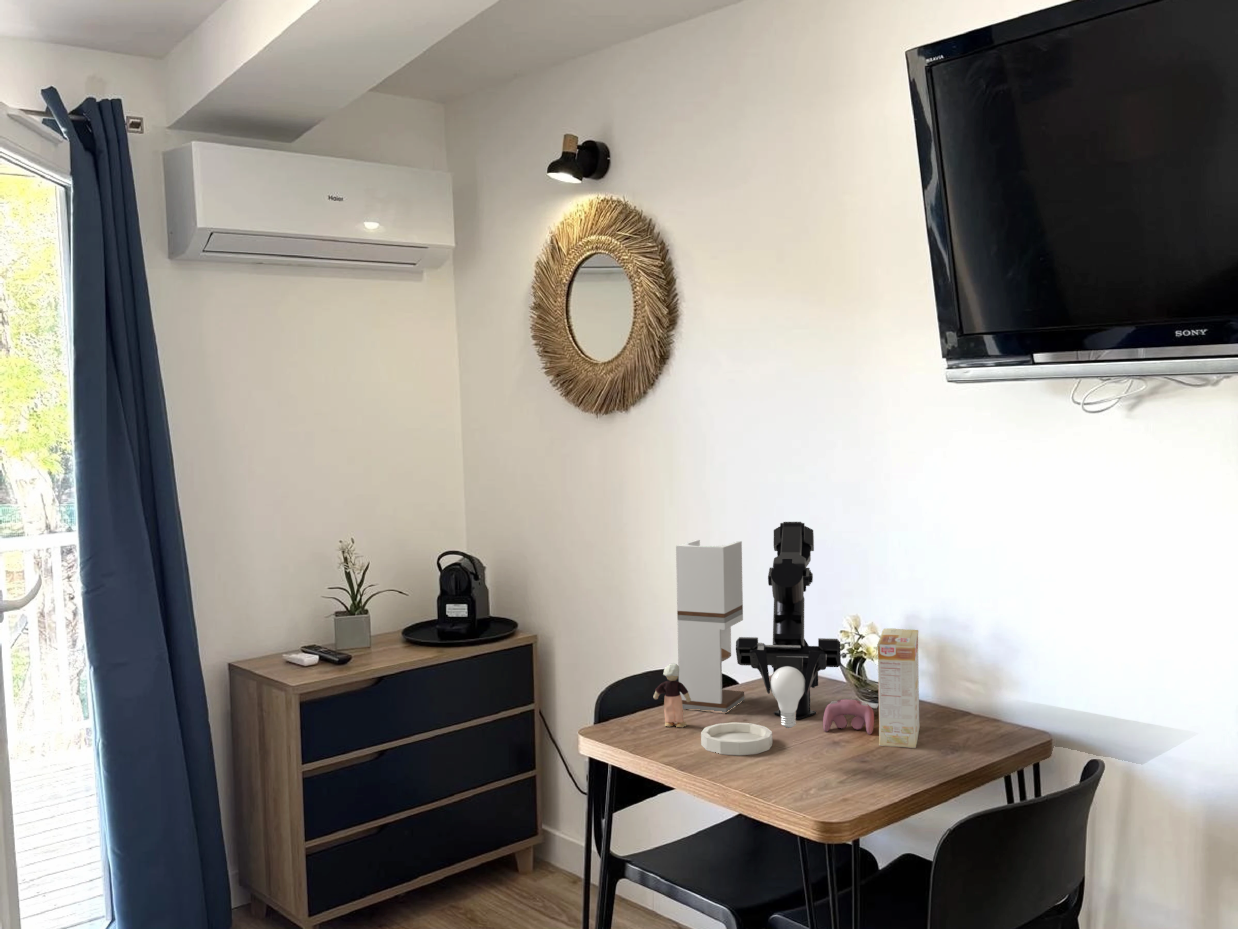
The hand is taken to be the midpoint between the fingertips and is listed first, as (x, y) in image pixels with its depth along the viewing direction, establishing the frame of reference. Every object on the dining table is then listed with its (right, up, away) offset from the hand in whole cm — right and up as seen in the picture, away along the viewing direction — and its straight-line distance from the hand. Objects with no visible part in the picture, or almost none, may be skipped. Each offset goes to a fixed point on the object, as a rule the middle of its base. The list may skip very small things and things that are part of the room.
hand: (787, 693), depth 200 cm
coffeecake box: (+24, -12, +18) cm, 32 cm away
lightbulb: (0, -7, +2) cm, 7 cm away
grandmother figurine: (-19, -12, +28) cm, 36 cm away
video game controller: (+15, -12, +22) cm, 30 cm away
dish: (-7, -13, +14) cm, 21 cm away
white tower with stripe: (-10, -12, +43) cm, 46 cm away
